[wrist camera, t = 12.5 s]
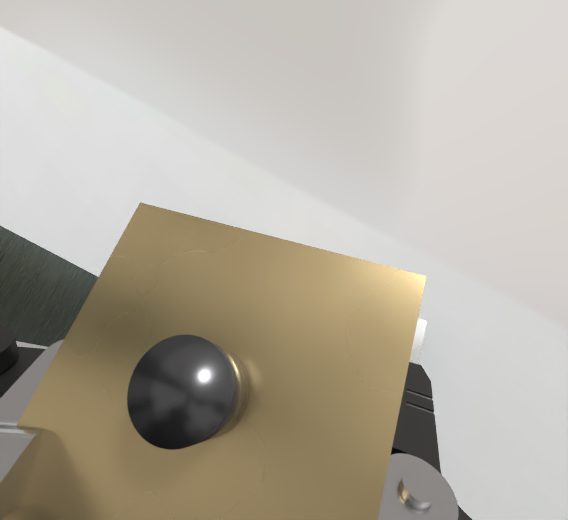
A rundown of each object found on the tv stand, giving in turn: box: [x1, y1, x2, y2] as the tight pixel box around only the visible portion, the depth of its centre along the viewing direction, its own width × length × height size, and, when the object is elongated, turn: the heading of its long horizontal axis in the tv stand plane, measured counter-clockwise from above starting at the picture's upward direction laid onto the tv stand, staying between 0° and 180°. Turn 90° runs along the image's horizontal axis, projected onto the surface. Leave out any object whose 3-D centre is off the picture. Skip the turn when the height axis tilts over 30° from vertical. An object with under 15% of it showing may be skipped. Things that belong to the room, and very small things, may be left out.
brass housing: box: [3, 203, 426, 520], centre depth 9 cm, size 5×5×11 cm
